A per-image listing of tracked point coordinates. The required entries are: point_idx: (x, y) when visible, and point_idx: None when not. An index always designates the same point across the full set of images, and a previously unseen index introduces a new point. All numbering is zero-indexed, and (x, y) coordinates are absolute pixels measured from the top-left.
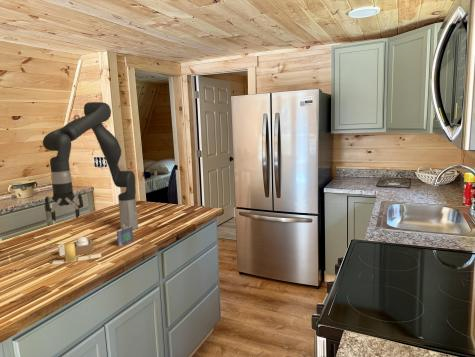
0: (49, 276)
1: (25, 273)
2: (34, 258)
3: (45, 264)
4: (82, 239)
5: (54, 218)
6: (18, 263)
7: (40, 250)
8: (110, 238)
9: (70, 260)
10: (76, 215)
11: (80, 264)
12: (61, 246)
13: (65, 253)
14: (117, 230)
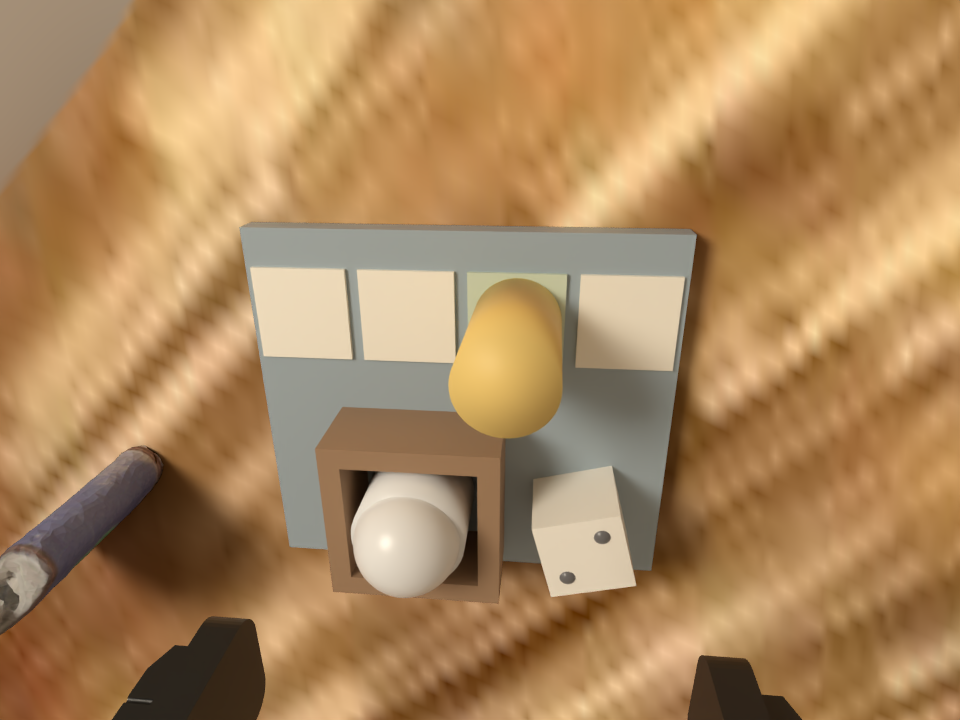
0: (705, 49)
1: (912, 245)
2: (812, 557)
3: (732, 383)
4: (388, 533)
5: (738, 701)
6: (943, 510)
7: None
8: None
9: (516, 280)
10: (202, 666)
11: None
12: (600, 535)
13: (555, 328)
14: (41, 580)
